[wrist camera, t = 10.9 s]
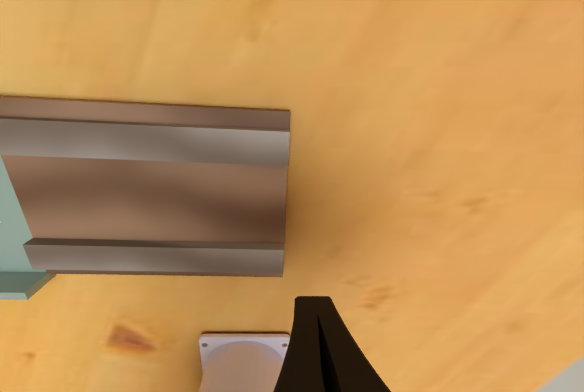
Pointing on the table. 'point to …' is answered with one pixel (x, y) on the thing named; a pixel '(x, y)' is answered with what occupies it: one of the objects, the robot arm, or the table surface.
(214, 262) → the slot board
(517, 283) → the table surface
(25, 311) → the table surface
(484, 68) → the table surface
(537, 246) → the table surface
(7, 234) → the tray
